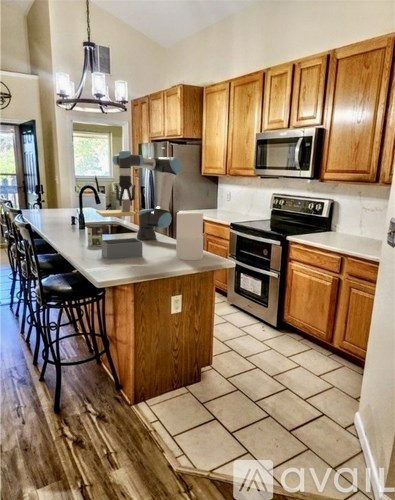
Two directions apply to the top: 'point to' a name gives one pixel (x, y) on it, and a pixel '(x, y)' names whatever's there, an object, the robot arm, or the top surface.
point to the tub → (121, 248)
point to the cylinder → (189, 235)
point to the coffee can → (94, 235)
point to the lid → (118, 213)
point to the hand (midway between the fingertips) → (125, 210)
